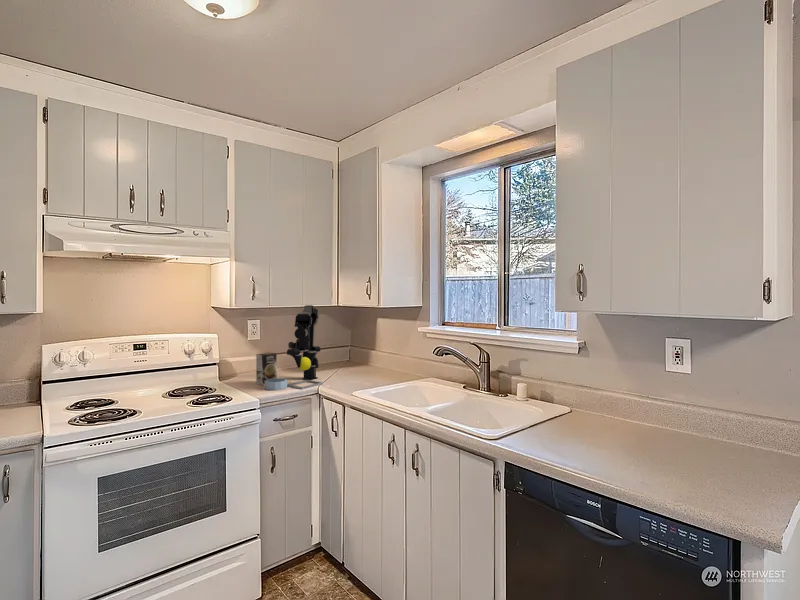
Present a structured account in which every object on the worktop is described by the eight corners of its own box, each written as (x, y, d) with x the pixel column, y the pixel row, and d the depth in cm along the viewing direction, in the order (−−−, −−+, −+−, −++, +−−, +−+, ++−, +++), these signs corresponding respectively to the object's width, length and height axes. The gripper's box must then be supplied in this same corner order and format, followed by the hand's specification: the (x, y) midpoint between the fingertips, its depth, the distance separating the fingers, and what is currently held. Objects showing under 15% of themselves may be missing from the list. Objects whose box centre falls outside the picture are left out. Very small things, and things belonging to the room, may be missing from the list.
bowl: (277, 384, 246) (277, 377, 245) (291, 387, 239) (291, 379, 239) (260, 388, 237) (260, 380, 237) (274, 391, 230) (274, 383, 230)
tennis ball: (295, 370, 245) (295, 357, 244) (307, 368, 249) (307, 355, 248) (300, 372, 239) (300, 358, 239) (313, 370, 243) (313, 357, 243)
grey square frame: (306, 381, 254) (306, 379, 254) (323, 384, 246) (323, 382, 246) (285, 386, 242) (285, 384, 242) (301, 389, 234) (301, 387, 234)
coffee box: (263, 385, 245) (262, 355, 244) (256, 384, 249) (255, 354, 248) (277, 382, 252) (277, 353, 251) (270, 381, 256) (269, 352, 255)
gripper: (306, 334, 256) (307, 363, 256) (279, 338, 241) (280, 367, 241) (320, 336, 249) (321, 364, 249) (293, 339, 234) (294, 369, 234)
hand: (304, 366), depth 244 cm, fingers closed on tennis ball, 7 cm apart
